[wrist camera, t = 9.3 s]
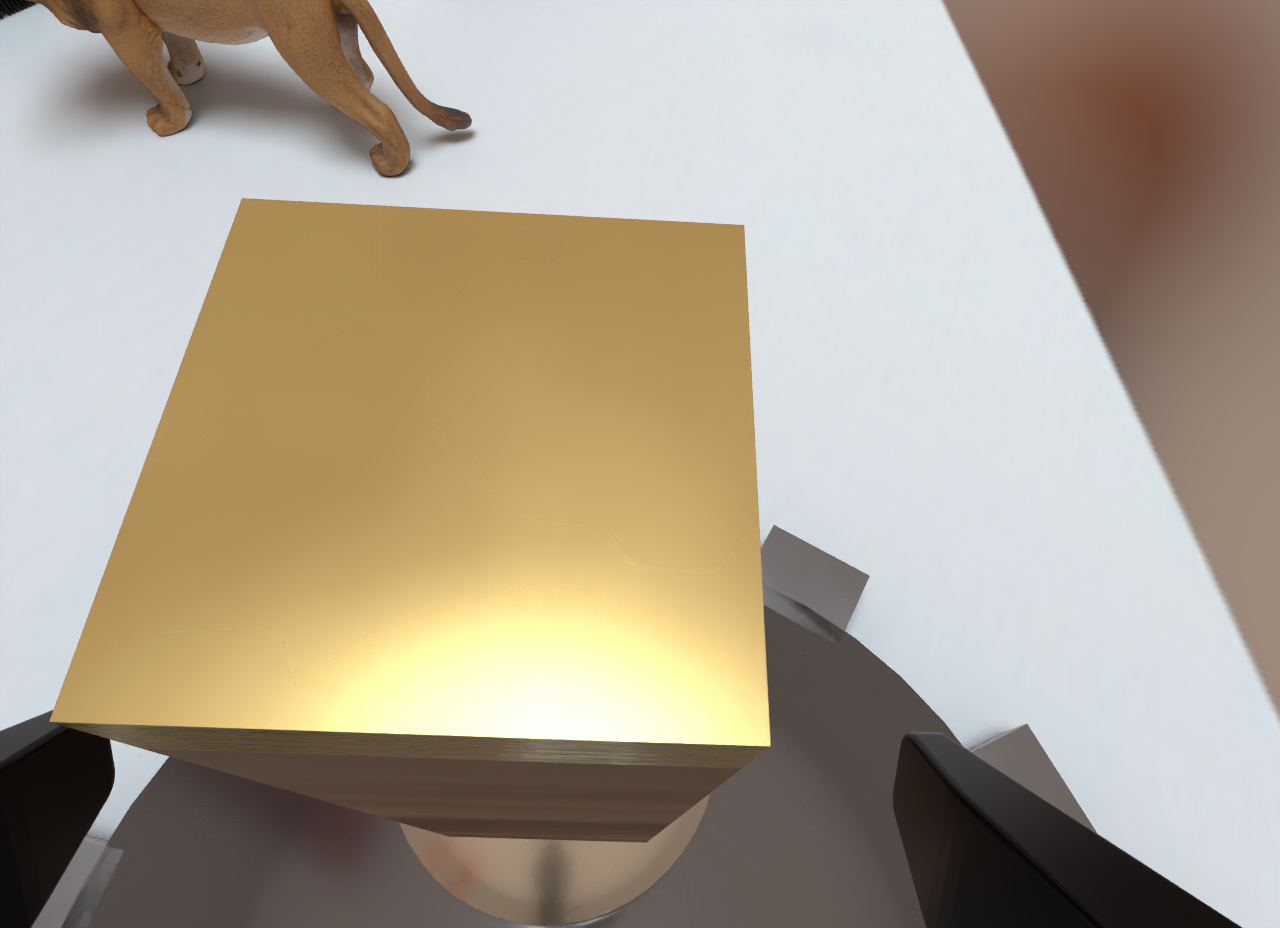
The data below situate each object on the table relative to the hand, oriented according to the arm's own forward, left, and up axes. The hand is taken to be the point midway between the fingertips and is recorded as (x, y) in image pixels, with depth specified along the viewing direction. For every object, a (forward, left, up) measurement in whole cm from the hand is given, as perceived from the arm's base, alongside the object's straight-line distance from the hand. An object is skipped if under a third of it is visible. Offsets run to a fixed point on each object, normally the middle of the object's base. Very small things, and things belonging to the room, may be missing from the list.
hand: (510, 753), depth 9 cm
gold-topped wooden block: (+1, 0, -8) cm, 8 cm away
